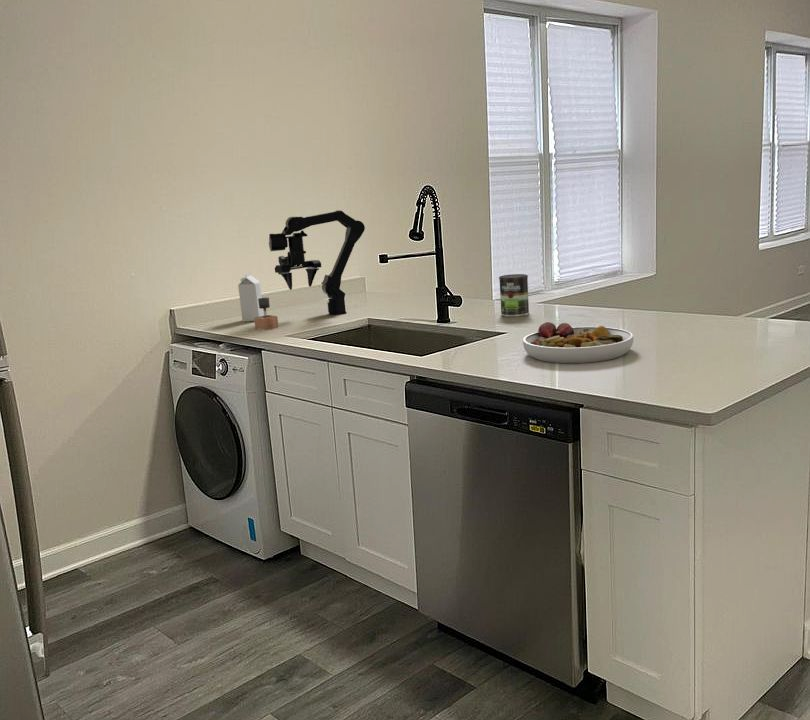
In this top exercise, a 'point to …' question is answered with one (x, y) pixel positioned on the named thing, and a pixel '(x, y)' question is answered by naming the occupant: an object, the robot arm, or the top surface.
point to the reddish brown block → (266, 322)
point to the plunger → (264, 304)
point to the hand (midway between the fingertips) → (300, 288)
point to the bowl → (577, 343)
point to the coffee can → (514, 295)
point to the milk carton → (250, 298)
